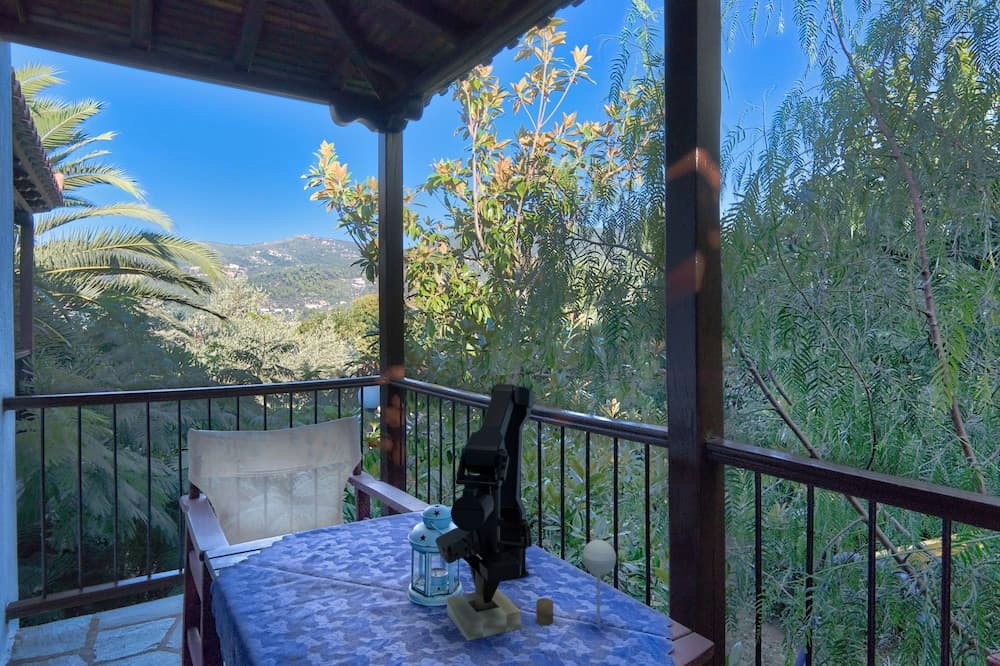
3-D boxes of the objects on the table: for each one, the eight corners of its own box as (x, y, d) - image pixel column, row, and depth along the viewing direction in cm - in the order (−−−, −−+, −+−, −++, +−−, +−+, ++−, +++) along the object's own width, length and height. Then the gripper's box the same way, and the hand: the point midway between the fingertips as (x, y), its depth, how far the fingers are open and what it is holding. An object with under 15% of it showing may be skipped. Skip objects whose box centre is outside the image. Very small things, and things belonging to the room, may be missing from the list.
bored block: (497, 603, 116) (497, 587, 116) (520, 628, 107) (521, 611, 107) (447, 613, 112) (447, 597, 112) (467, 640, 103) (467, 623, 102)
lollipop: (607, 637, 104) (608, 550, 103) (575, 627, 107) (576, 543, 107) (620, 622, 109) (621, 538, 109) (589, 613, 112) (590, 532, 112)
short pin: (548, 615, 111) (548, 596, 111) (556, 623, 109) (556, 604, 108) (533, 619, 110) (533, 600, 110) (541, 627, 107) (541, 607, 107)
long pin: (487, 607, 111) (488, 563, 111) (494, 614, 108) (494, 570, 108) (472, 610, 110) (472, 566, 110) (479, 618, 107) (479, 573, 107)
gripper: (424, 502, 114) (424, 585, 114) (460, 536, 97) (459, 633, 97) (479, 495, 118) (479, 575, 119) (523, 526, 101) (522, 619, 102)
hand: (483, 598), depth 109 cm, fingers closed on long pin, 3 cm apart
